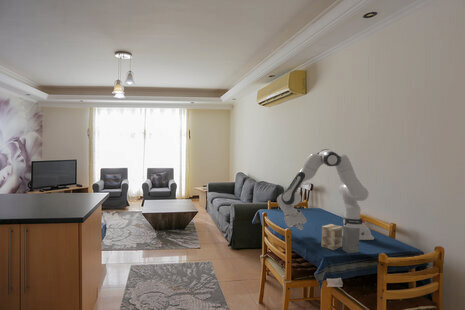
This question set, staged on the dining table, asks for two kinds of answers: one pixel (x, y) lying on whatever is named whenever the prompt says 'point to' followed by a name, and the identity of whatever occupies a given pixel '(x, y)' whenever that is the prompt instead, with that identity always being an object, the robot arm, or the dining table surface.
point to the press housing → (331, 236)
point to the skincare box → (351, 239)
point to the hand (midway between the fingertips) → (301, 229)
